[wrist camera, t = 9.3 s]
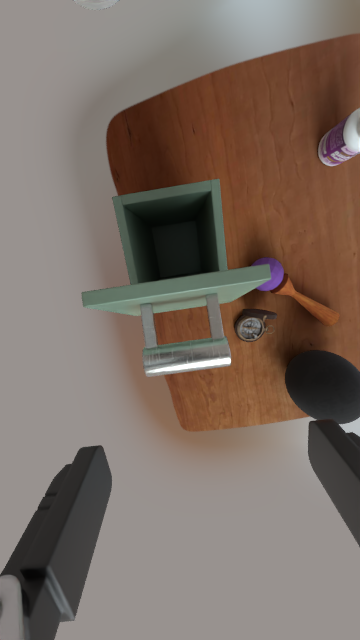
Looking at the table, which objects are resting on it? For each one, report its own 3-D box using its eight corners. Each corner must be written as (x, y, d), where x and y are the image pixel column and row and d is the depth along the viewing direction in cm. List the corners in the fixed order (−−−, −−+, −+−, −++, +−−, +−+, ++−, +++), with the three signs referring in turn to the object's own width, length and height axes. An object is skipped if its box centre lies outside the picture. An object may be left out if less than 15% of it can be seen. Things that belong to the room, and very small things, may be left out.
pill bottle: (317, 170, 40) (358, 146, 31) (316, 134, 38) (359, 97, 29) (349, 163, 40) (400, 136, 30) (349, 126, 38) (403, 87, 29)
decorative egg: (280, 337, 49) (322, 373, 34) (337, 341, 49) (403, 379, 35) (269, 388, 52) (303, 440, 38) (322, 392, 53) (376, 445, 38)
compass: (232, 339, 49) (240, 354, 42) (238, 303, 47) (248, 312, 40) (269, 342, 49) (284, 358, 42) (277, 306, 47) (294, 316, 40)
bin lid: (80, 291, 12) (93, 393, 12) (269, 263, 11) (286, 368, 11) (134, 308, 23) (141, 359, 23) (230, 294, 23) (238, 346, 23)
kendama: (326, 337, 45) (245, 284, 40) (312, 322, 50) (239, 274, 45) (353, 314, 42) (269, 255, 38) (334, 301, 47) (259, 247, 43)
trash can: (147, 224, 42) (111, 196, 21) (198, 215, 42) (219, 178, 20) (157, 281, 45) (136, 310, 24) (205, 274, 45) (229, 297, 23)
